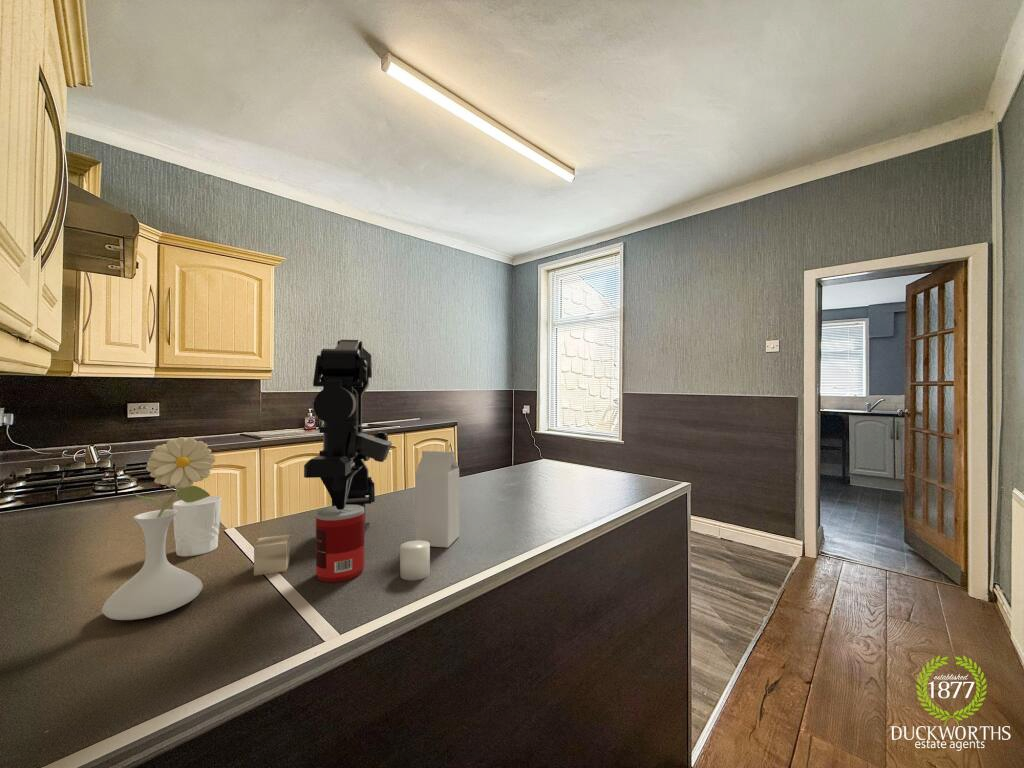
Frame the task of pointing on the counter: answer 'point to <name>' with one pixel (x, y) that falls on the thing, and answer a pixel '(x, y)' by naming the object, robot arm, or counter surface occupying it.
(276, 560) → the birch block
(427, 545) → the off-white smooth rounded part
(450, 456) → the milk carton
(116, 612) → the flower in vase
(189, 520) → the white cup
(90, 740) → the counter surface
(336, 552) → the canned food
